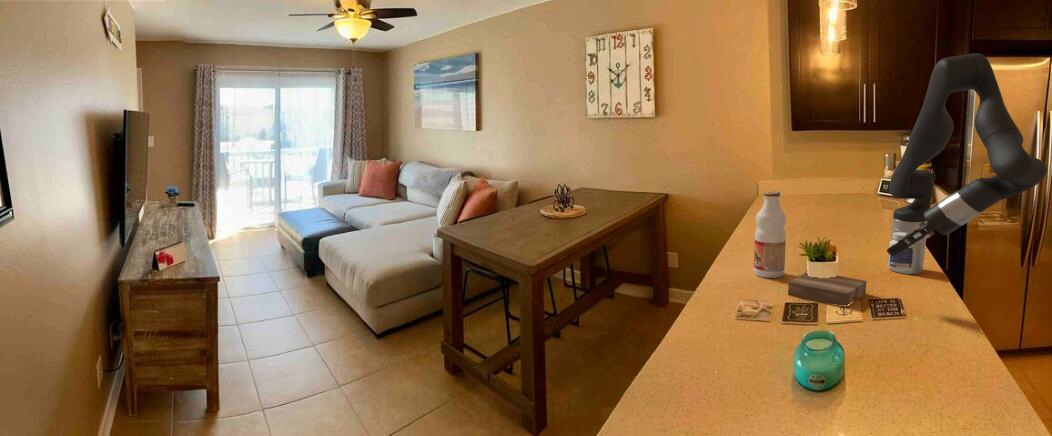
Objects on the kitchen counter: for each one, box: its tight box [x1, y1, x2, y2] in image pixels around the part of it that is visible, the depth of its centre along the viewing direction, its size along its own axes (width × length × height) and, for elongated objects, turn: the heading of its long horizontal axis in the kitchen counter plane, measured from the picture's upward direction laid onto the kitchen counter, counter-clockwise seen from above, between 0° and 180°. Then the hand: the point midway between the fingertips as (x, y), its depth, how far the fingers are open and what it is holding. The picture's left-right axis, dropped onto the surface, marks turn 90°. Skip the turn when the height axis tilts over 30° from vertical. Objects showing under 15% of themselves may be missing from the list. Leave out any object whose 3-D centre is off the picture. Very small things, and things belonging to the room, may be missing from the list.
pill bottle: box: [887, 232, 914, 271], centre depth 145 cm, size 5×5×10 cm
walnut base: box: [787, 271, 867, 306], centre depth 159 cm, size 15×16×4 cm
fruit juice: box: [753, 190, 787, 279], centre depth 177 cm, size 9×9×28 cm
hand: (893, 250), depth 146 cm, fingers closed on pill bottle, 5 cm apart
